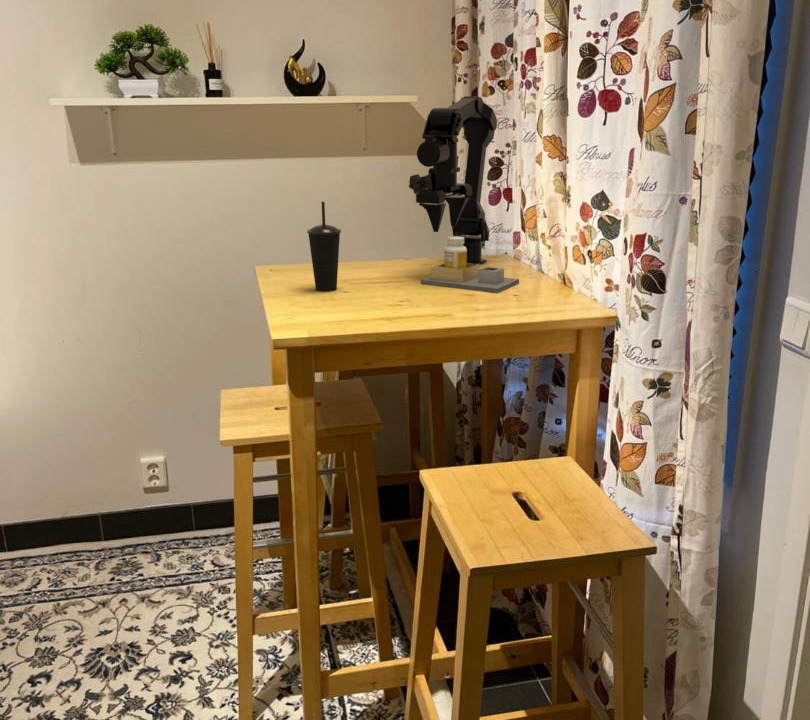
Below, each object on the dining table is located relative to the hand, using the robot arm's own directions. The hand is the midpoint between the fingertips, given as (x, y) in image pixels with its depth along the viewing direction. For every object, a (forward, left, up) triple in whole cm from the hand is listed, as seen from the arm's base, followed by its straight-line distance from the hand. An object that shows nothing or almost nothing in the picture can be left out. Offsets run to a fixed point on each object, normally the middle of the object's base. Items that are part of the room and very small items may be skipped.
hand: (444, 229), depth 192 cm
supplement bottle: (+5, +5, -11) cm, 13 cm away
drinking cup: (+27, -16, -12) cm, 34 cm away
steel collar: (+5, +15, -12) cm, 20 cm away
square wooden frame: (+5, +6, -12) cm, 14 cm away
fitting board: (+5, +10, -12) cm, 16 cm away
